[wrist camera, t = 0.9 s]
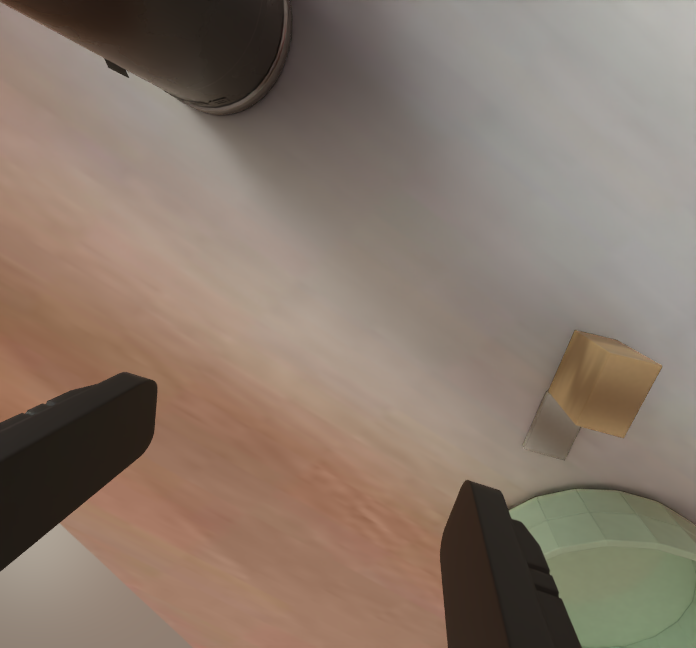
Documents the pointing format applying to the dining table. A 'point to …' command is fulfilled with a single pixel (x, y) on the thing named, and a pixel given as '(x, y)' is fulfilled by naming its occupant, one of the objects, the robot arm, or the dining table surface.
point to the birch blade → (591, 393)
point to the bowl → (618, 566)
